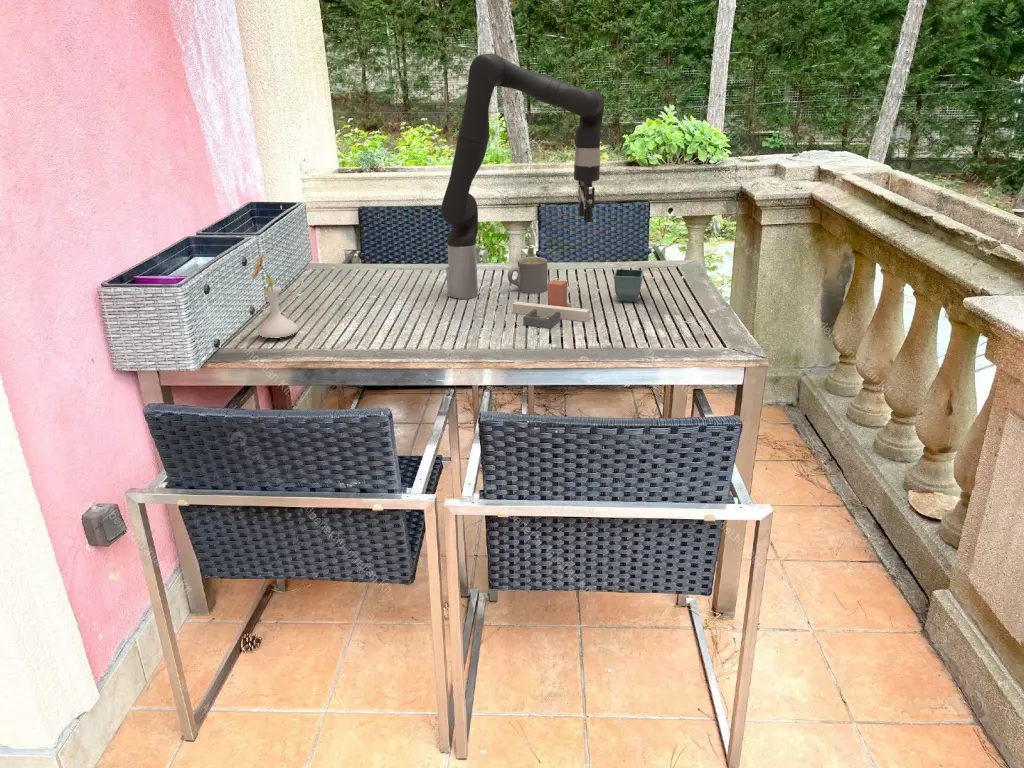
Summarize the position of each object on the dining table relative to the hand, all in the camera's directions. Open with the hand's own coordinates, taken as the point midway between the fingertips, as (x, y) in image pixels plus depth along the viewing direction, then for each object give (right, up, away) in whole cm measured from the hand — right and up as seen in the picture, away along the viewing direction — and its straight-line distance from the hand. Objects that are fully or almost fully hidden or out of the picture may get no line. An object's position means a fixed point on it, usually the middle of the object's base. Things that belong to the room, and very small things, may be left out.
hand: (585, 218), depth 232 cm
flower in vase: (-89, -36, -10) cm, 97 cm away
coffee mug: (-17, -18, +30) cm, 38 cm away
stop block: (-8, -27, +7) cm, 29 cm away
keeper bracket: (-13, -31, -3) cm, 34 cm away
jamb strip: (-8, -27, +6) cm, 29 cm away
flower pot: (+15, -23, +16) cm, 32 cm away
